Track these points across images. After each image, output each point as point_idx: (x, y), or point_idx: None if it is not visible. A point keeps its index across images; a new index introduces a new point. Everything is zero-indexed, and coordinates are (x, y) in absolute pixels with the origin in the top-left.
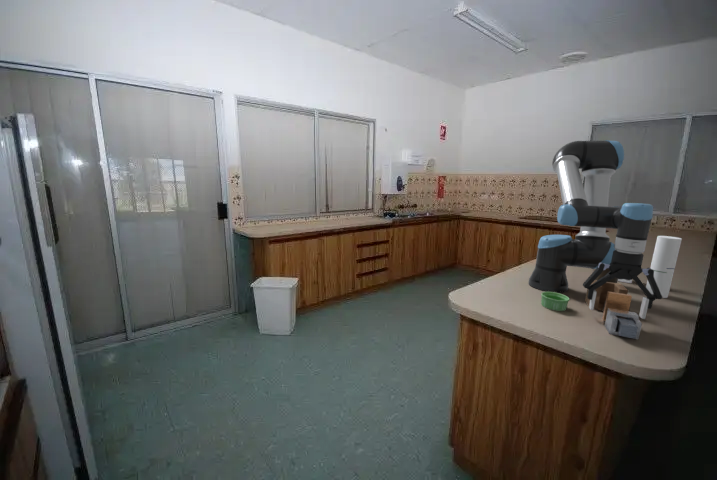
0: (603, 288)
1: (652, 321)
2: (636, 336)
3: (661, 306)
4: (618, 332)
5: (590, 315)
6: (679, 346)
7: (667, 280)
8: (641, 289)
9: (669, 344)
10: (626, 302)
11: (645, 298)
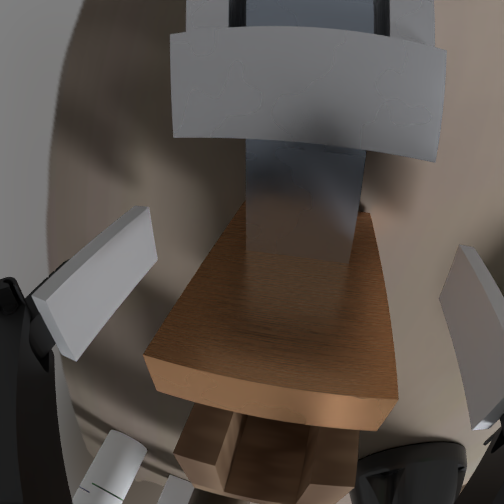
0: (271, 472)
1: None
2: None
3: (112, 400)
4: None
5: (408, 276)
6: (77, 44)
7: (96, 465)
8: (40, 415)
9: (105, 36)
10: (213, 302)
11: (57, 330)
